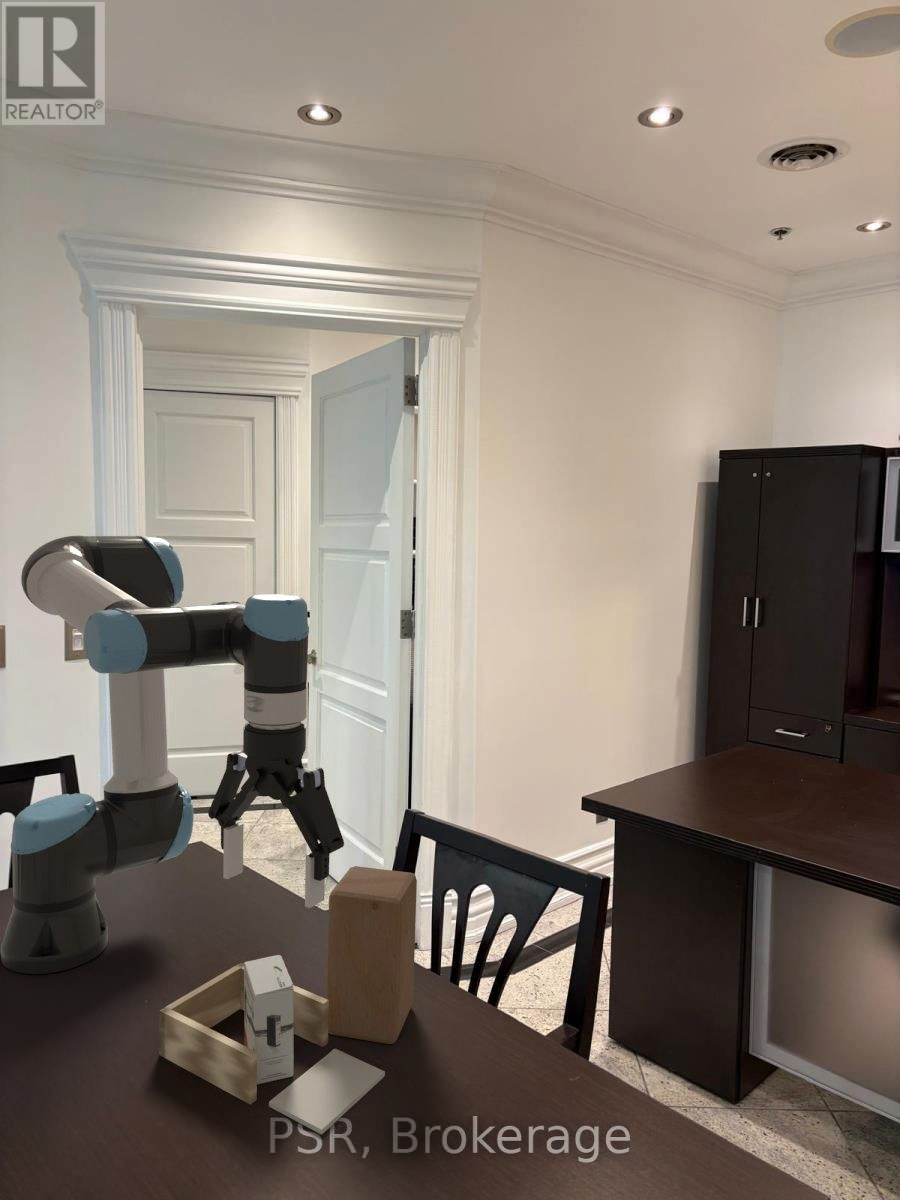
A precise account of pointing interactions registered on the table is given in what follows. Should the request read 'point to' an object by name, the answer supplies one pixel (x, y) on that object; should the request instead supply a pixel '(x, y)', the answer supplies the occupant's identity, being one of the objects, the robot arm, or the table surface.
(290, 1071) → the ink box
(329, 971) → the wooden block
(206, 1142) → the table surface
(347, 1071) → the mat
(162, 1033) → the crate
